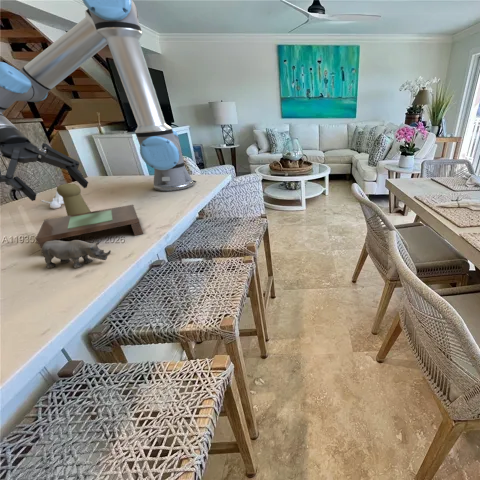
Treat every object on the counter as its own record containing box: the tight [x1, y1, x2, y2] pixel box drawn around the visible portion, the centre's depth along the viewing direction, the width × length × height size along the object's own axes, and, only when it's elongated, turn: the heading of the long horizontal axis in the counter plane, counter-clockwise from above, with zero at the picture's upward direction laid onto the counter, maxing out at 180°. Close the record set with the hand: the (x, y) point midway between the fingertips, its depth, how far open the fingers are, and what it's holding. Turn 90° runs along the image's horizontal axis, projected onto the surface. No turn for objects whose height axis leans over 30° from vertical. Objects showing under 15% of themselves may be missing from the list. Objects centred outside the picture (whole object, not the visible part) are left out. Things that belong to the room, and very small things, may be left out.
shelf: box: [35, 204, 144, 249], centre depth 71 cm, size 20×14×5 cm
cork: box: [56, 182, 92, 216], centre depth 80 cm, size 6×6×11 cm
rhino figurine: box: [40, 239, 112, 269], centre depth 57 cm, size 4×14×6 cm, turn 93°
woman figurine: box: [40, 189, 64, 210], centre depth 96 cm, size 12×4×18 cm
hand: (62, 191), depth 79 cm, fingers open, 13 cm apart
